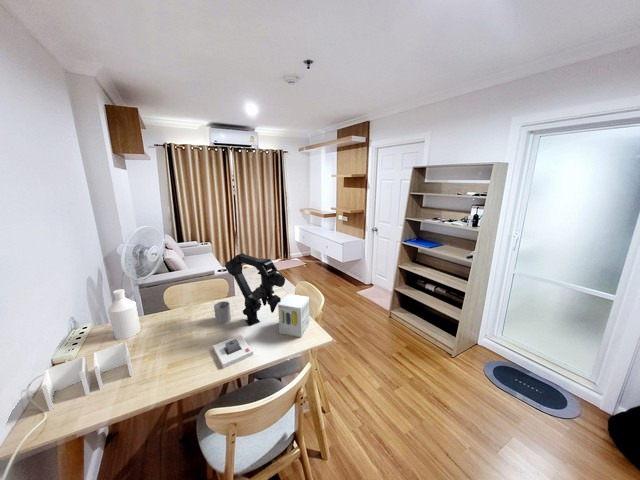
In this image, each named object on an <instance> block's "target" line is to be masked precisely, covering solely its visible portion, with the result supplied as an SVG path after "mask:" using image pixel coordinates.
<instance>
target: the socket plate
mask: <svg viewBox="0 0 640 480" xmlns="http://www.w3.org/2000/svg"><path fill="white" fill-rule="evenodd" d="M234 339H236V340H237V341H238V343H239V347H240V350H239V351H236V352H234V353H232V354H229V355H228V353H227V352H226V345H225V343H227V342H229V341H232V340H234ZM212 350H213V352H214V353H215V355H216V357H217V359H218V361H219V363H220V364H221V366H222V369H226V368H228V367H229V366H232V365H234V364H236V363H238V362H241V361H242V360H243V361H244V360H245V359H249V358H250V357H252V356H254V351H253V349H252V347H250V345H249V344H248V343H247V341H246V340H245V339H244V337H243V336H242V335H241V334H239V335H237V336H234V337H232V338H229V339H227V340H224V341H221V342H219V343H217V344H214V345H212Z"/></svg>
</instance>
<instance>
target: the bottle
mask: <svg viewBox="0 0 640 480" xmlns="http://www.w3.org/2000/svg"><path fill="white" fill-rule="evenodd" d="M125 292H126V291H125V289H124V288H120V289H115V290H113V293H112V294H113V295H114V298H115V300H114V301H113V302H112V304H111V305H110V306H109V307H108V309H107V312H108V315H109V320H110V325H111V328H112V331H113V335H114V338H115V339H116V338H117V339H116V340H119V339H122V340H127V339H130V338H133V337H134V335H135V336H136V334H137V333H138V334H140V332H141V331H140V330H142V328H141V322H140V318H139V317H140V316H139V313H138V307H137V302H136V301H135V300H132V299H130V298H127V297H125V296H126V295H125ZM138 334H137V335H138ZM132 336H133V337H132ZM129 337H130V338H129ZM126 338H127V339H126Z"/></svg>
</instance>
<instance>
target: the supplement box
mask: <svg viewBox="0 0 640 480" xmlns="http://www.w3.org/2000/svg"><path fill="white" fill-rule="evenodd" d="M277 305H278V309H277V310H278V326H279V330H278V331H279V334H282V335H288V336H292V337H298V338H302V337H303V336H304V334H305V333H306V331H307V329H308V328H309V326H310V325H311V324H310V296H306V295H299V294H293V293H287V295H285V297H284V298H282V300H281V302H279V303H278V304H277ZM304 332H305V333H304Z"/></svg>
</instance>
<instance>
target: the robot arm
mask: <svg viewBox="0 0 640 480" xmlns="http://www.w3.org/2000/svg"><path fill="white" fill-rule="evenodd" d="M242 264H245V265H248V266H251V267H254V268H255V269H256V270H257V271H258V272H257V275H260V280H261V281H260V282H261V283H260V284H259V286H258V287H256V288H255V290H253V291H252V289H251V287H250V286H249V283H248V282H247V279H246V277H245V275H244V274H243V273H244V272H243V265H242ZM225 269H226V270H227V273H228V274H229V275H231V276H232V277H234V280H235V282H236V284H237V286H238V287H239V289H240V291H241V295H242V296H243V299H244V307H245V308H243V310H242V314H243V315H244V316H246V319H245V322H246V324H247V325H248V327H249V326H253V325H255V324H258V323H260V322H261V320H259V318H258V312H259V311H260V310H261V307H262V305H263V306H264V307H265V306H267V304H268V306H269V309H270V312H271V314H272V313H274V312H275V309H276V308H277V305H278V304H279V303H280V302H281V301H282V300H281V297H279V295H277V294H275V291H274V286H275V287H277V288H279V287H280V288H282V287H284V285H285V283H286V277H285V276H284V275H283V273H279V272H278V268H277V267H276V265H275V264H274V262H273V260H272V259H270V258H264V257H263V258H257V257H254V256H251V255H248V254H246V253H243V252H242V253H238V254H236V255H235V256H234V257H233V258H232V259H230V260H229V261H226V263H225ZM273 294H274V295H273Z"/></svg>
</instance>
